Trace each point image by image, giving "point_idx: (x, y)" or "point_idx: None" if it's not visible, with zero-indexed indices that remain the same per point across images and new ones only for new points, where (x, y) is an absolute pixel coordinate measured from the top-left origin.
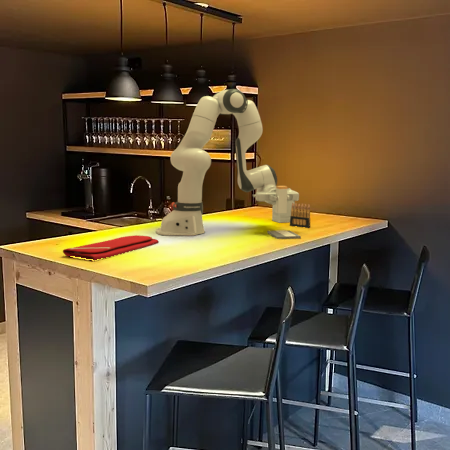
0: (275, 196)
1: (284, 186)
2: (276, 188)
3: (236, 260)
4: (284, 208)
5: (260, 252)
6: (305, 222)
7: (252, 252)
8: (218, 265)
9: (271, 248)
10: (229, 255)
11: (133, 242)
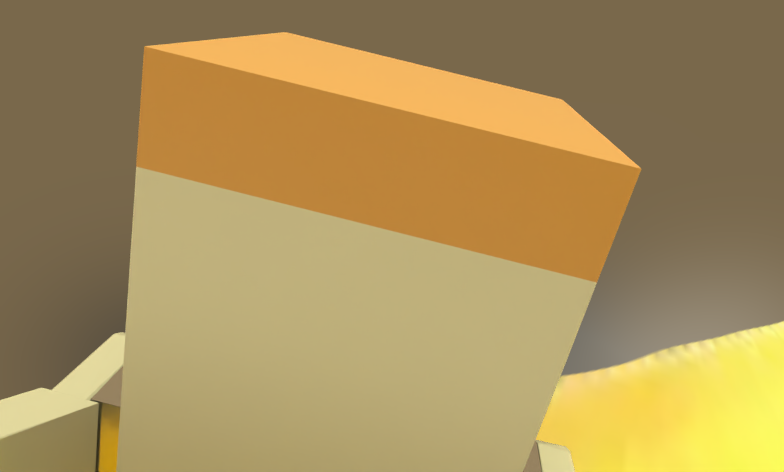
0: (540, 461)
1: (343, 54)
2: (580, 272)
3: (725, 342)
4: None
5: (626, 386)
6: None
7: (668, 399)
8: (776, 327)
9: (553, 423)
10: (775, 399)
11: None
